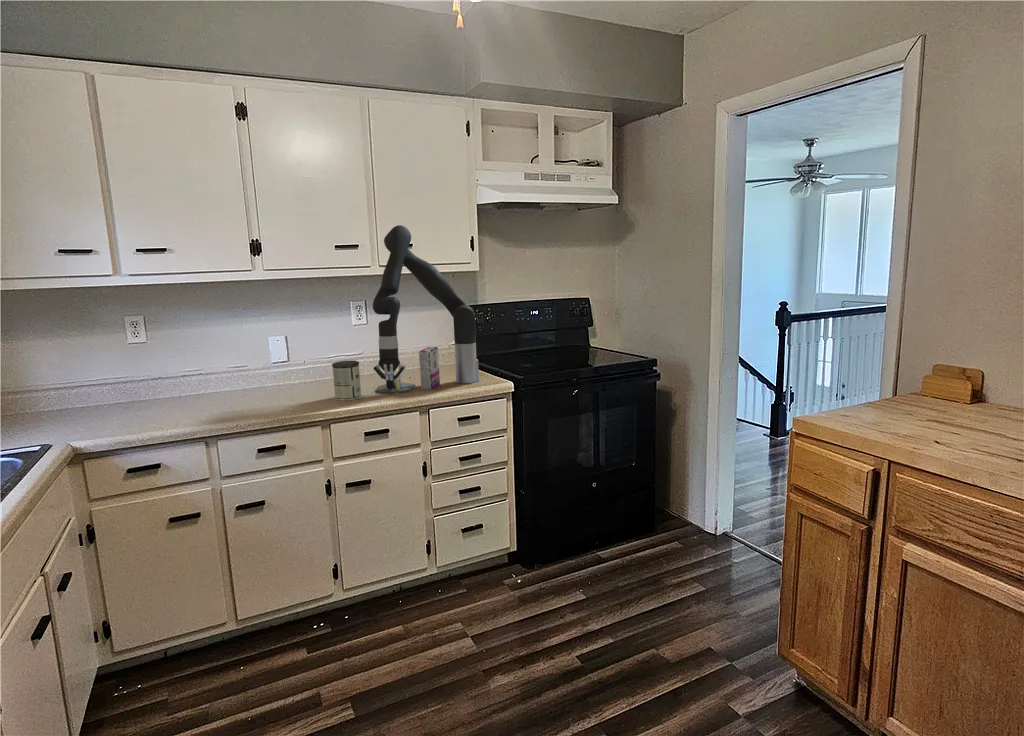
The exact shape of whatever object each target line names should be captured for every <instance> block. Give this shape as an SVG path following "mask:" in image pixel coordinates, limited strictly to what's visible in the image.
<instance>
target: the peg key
mask: <svg viewBox="0 0 1024 736" xmlns="http://www.w3.org/2000/svg"><path fill="white" fill-rule="evenodd" d="M402 373H403V372H402ZM402 373H401V374H400V375H399V377H398V378H397V379H394V387H393V388H396V390H400V387H401V383H402V381H401V380H402V378H403V374H402ZM396 374H397V373H394V376H395V375H396Z"/></svg>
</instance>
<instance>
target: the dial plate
mask: <svg viewBox="0 0 1024 736" xmlns="http://www.w3.org/2000/svg"><path fill="white" fill-rule="evenodd" d="M414 389H415V390H416V384H414V383H410V382H401V387H400V390H396V388H392V389H388V388H387V387H386V383H385V384H382V385H379V386H377V387H376V391H377V393H379V392H380V394H384V393H387V394H388V395H396V394H395V393H399V394H405V392H406V393H410V392H413V391H414ZM412 390H413V391H412ZM409 391H410V392H409ZM387 394H386V395H387Z"/></svg>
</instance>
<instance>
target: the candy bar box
mask: <svg viewBox="0 0 1024 736" xmlns="http://www.w3.org/2000/svg"><path fill="white" fill-rule="evenodd" d="M418 356H419V357H418V358H419V360H418V361H419V372H420V386H421V390H424V389H427V390H428V391H429V390H434V389H435V388H436V387H437V386H439V385H440V384H441V378H440V376H441V375H440V362H439V361H440V360H439V347H438V346H426V347H425V348H423V349H421V350H419V351H418Z"/></svg>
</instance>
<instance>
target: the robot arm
mask: <svg viewBox="0 0 1024 736" xmlns="http://www.w3.org/2000/svg"><path fill="white" fill-rule="evenodd" d="M411 241H412V234H411V232H410V229H409V228H407V227H406V226H404V225H400V224H398V225H395V226H394V227H392V228H391V229H390V231H388V233H387V234H386V235H385V237H384V239H383V243H384V246H385V248H386V249H387V251H389V253H390V254H389V256H388V259H387V262H386V265H385V267H384V270H383V272H382V273H383V274H382V279H381V282H380V287H379V289H378V291H377V293H376V295H375V297H374V299H373V301H372V310H373V312H374V313H375V314H376V315H385V316H386V315H387V316H388V315H389V318H388V319H385V320H381V321H379V322H378V354H379V356H378V357H379V358H378V359H379V361H378V364H377V365H375V366H374V367H373V370H374V371H375V373H376V374H377V375H378V376H379V377H380V378H381V379H382V380H385V384H386V387H387V388H388V389H392V388H393V387H394V379H397V378H398V377H399V375H400V374H401V373H403V371H405V369H406V365H403V364H402V363H401V362H400V359H399V343H398V342H399V341H398V331H397V330H398V327H397V325H398V324H397V323H398V318H399V314H400V310H401V302H400V299H399V298H398V297H395V296H394V295H396V294H397V293H398V292H399V288H400V282H401V276H402V271H403V266H404V267H405V268H406V269H407V270H408V271H409V272H410V274H411V275H413V276H414V277H415V279H416V280H417V281H418V283H420V284H421V286H423V288H424V289H425V290H426V292H428V293H429V294H430V295H431V296H433V297H434V298H435V299H436V300H437V301H439V302H440V303H441V304H442V305H443V306H444V307H445V308H446V310H447V311H448V313H449V314H450V315H451V317H452V318H453V319H452V320H453V341H454V361H455V381H456V382H455V383H458V384H473V383H476V382H480V376H479V375H480V374H479V359H477V343H476V342H477V334H476V333H477V332H476V331H477V330H476V329H477V328H476V315H475V314H476V313H475V311H474V309H473V308H472V307H471V306H469V304H467V303H466V302H465V301H464V300H463V299H462V298H461V297H460V296H459V295H458V294H457V293H456V292H455V290H454V289H453V288H452V286H451V284H450V283H449V282H448V280H447V279H446V278H445V277H444V275H442V273H441V272H440V270H438V269H437V267H436V266H435V265H433V264H432V263H429V262H428V261H426V260H424V259H421V258H419V256H417V255H415V254H414V253H413V252H412V251H411V249H410V248H409V247H410V244H411ZM397 369H398V371H397V372H396V370H397ZM382 370H383V371H382ZM395 372H396V373H395ZM394 374H396V375H395V376H394Z"/></svg>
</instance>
